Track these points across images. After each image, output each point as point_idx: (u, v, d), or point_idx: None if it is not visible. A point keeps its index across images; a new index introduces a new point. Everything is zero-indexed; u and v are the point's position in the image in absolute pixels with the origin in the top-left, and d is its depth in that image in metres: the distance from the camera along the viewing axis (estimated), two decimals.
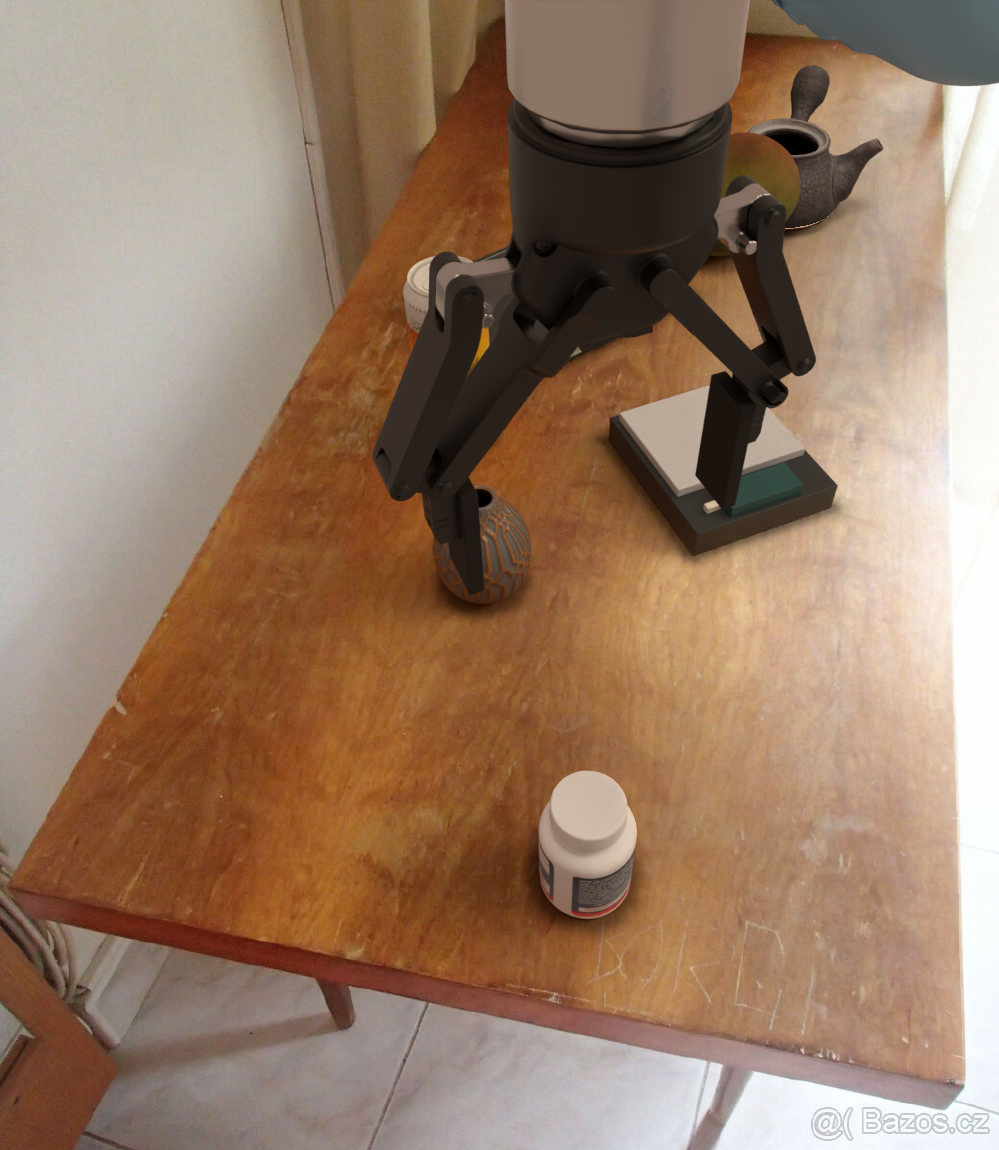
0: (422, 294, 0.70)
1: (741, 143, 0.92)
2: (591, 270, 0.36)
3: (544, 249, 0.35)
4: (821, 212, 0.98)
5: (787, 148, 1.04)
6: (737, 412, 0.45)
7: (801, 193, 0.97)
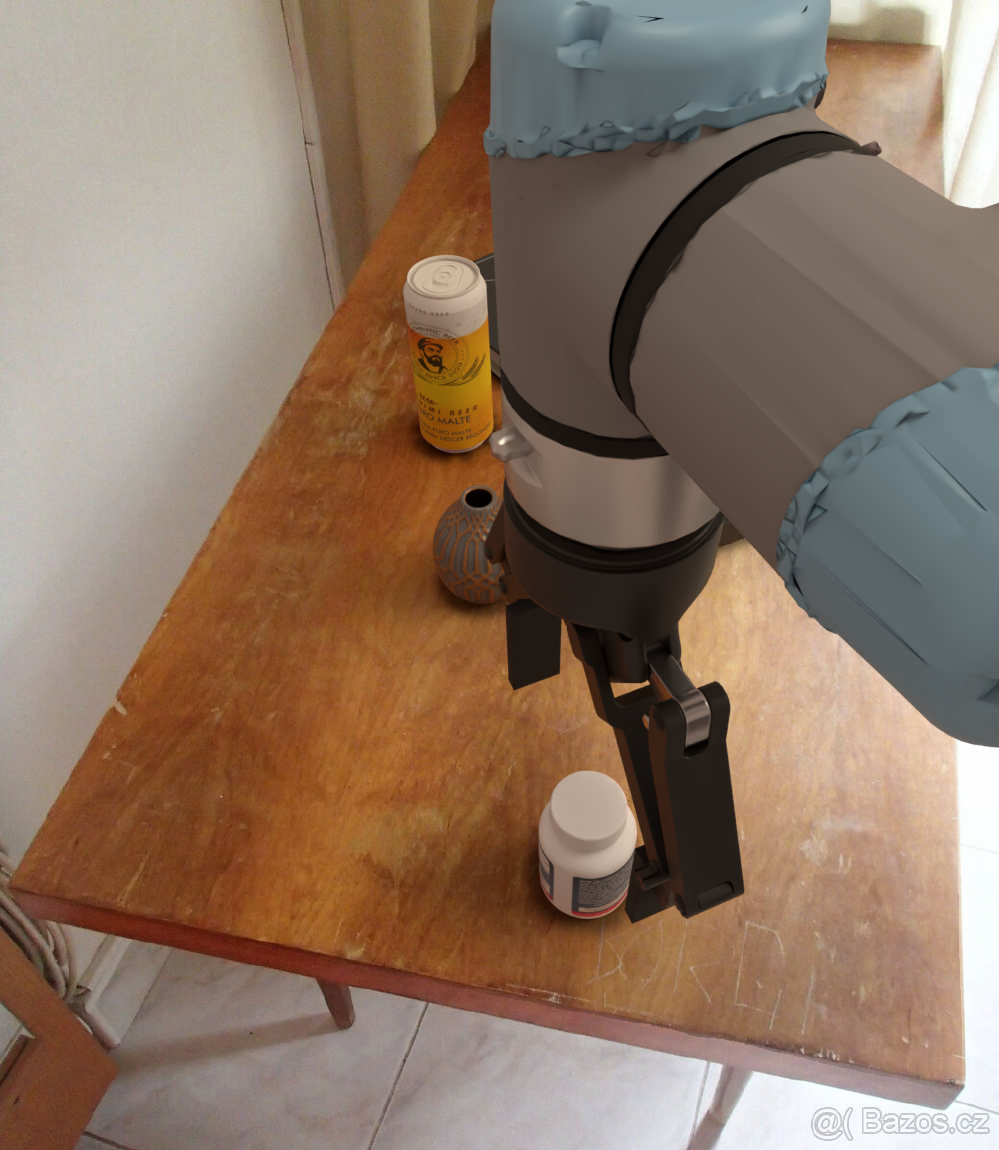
0: (422, 294, 0.70)
1: None
2: None
3: None
4: None
5: None
6: None
7: None
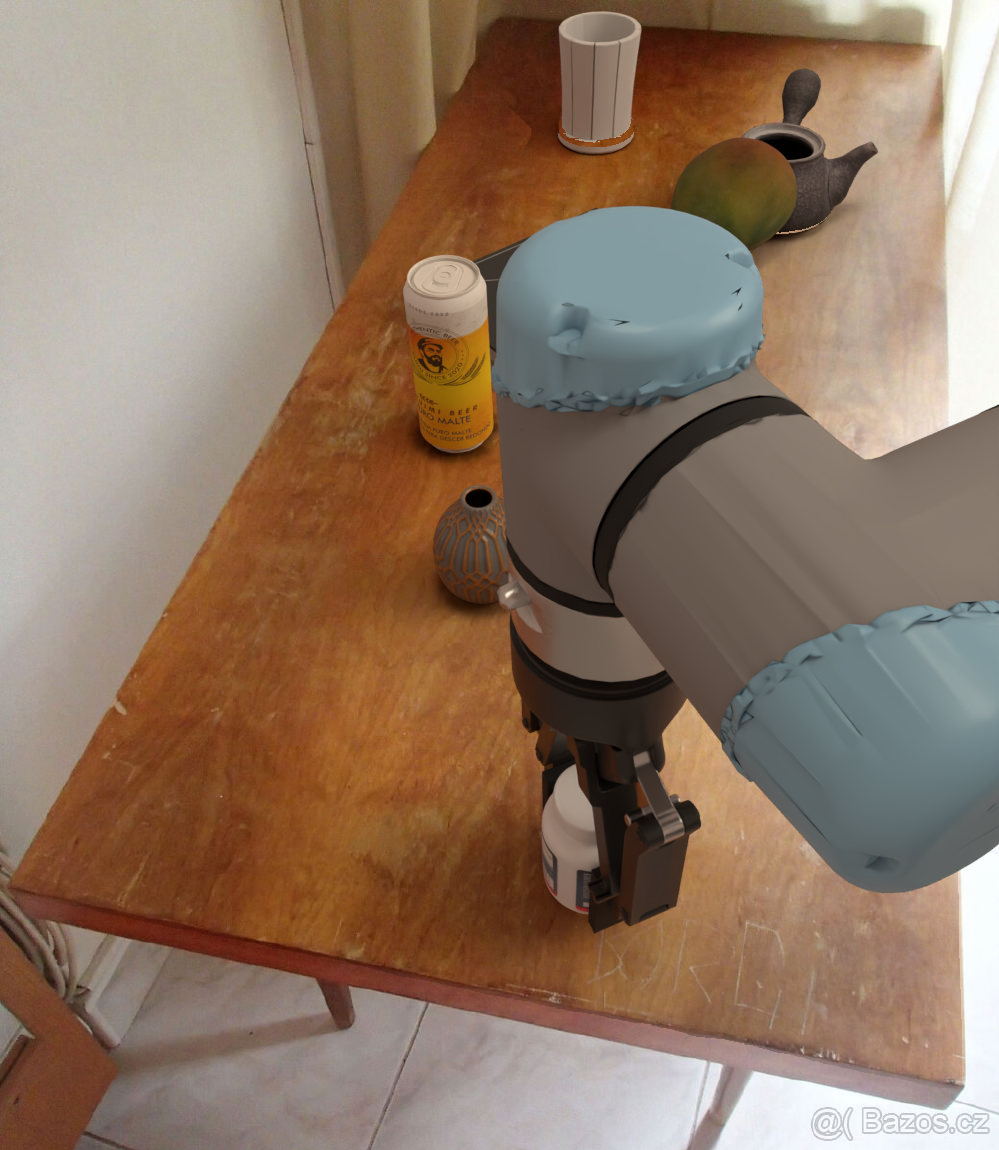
0: (422, 294, 0.70)
1: (738, 148, 0.92)
2: None
3: None
4: (817, 216, 0.98)
5: (780, 152, 1.03)
6: None
7: (797, 198, 0.96)
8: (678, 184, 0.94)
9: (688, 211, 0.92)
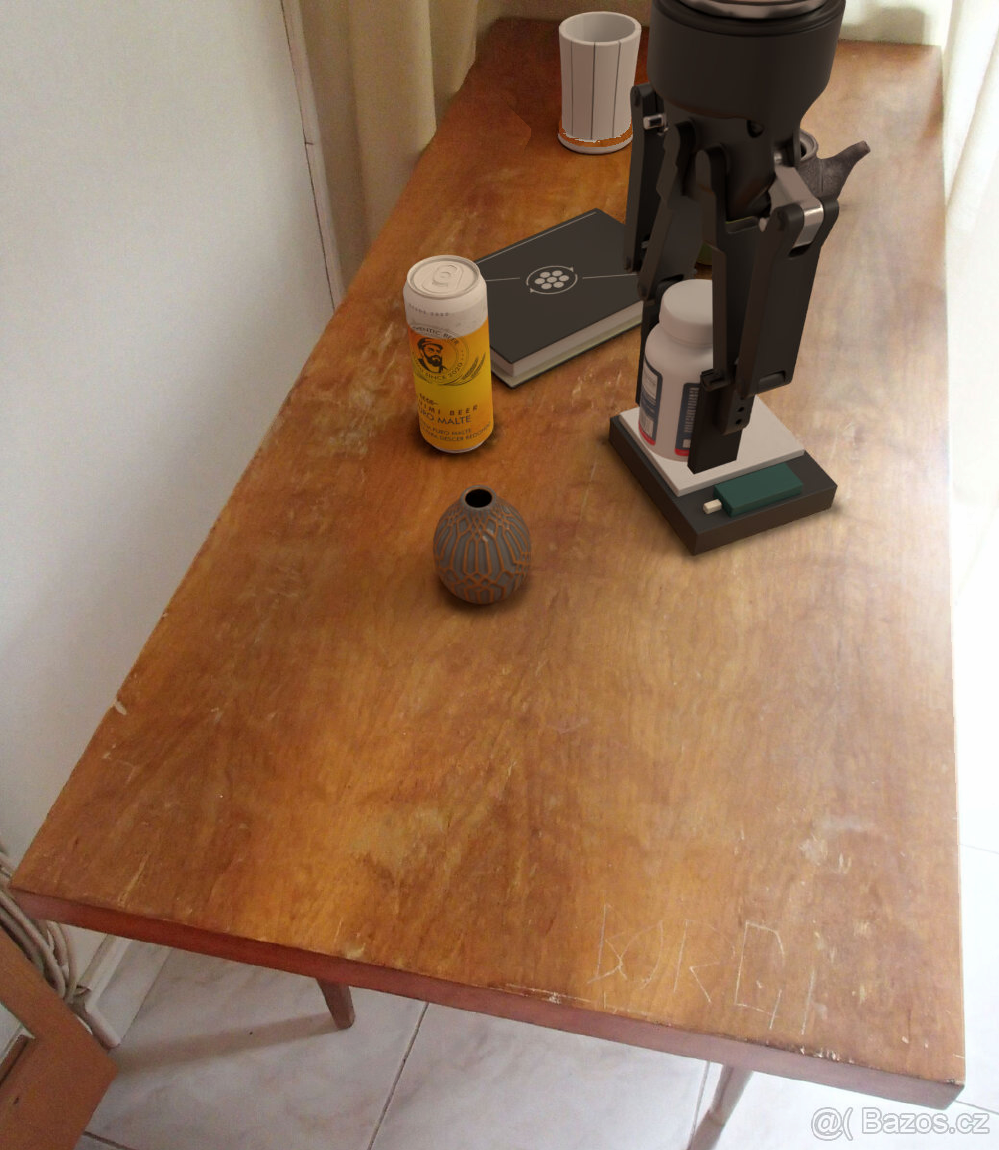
0: (422, 294, 0.70)
1: None
2: None
3: None
4: None
5: None
6: None
7: None
8: None
9: None
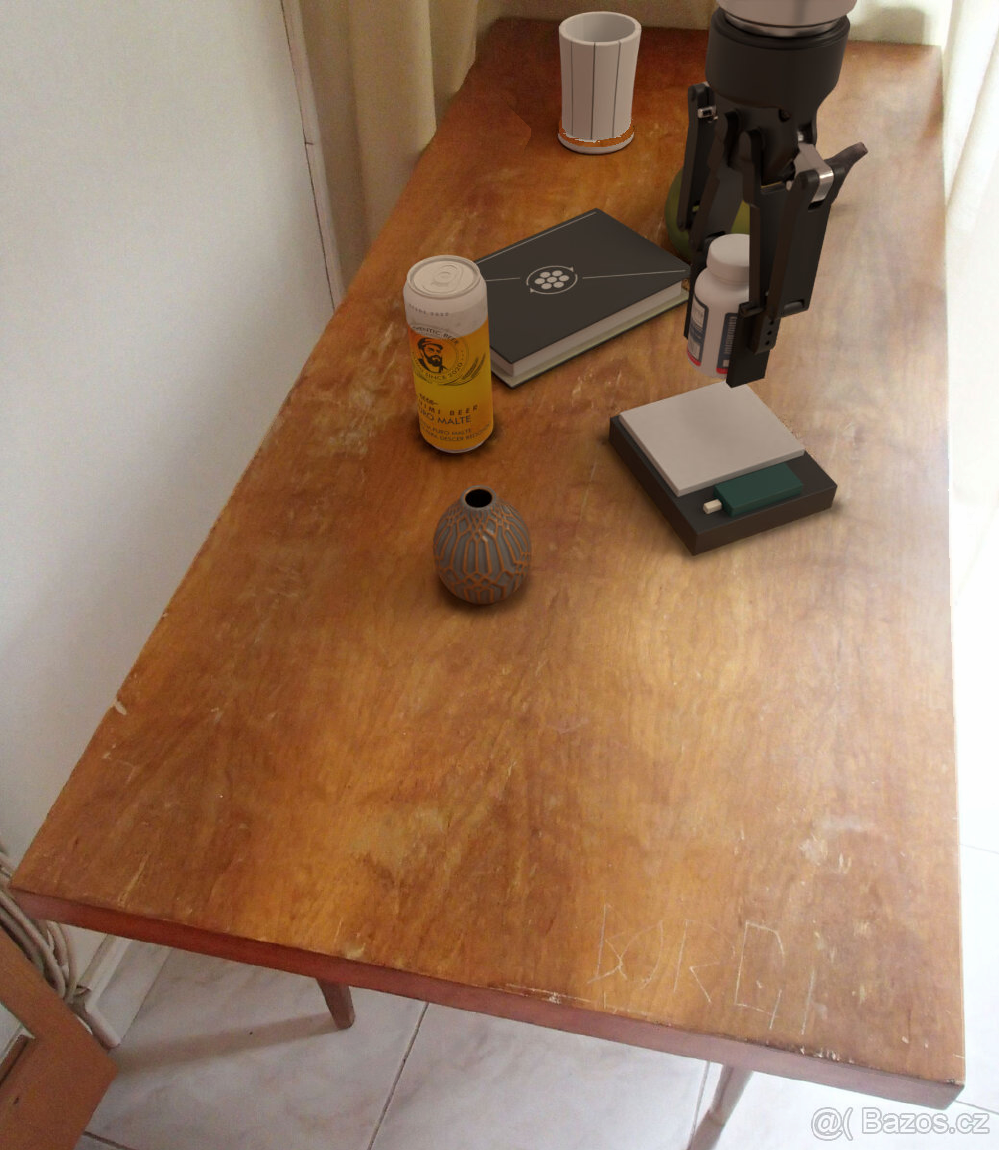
0: (422, 294, 0.70)
1: None
2: None
3: None
4: None
5: None
6: None
7: None
8: (671, 190, 0.94)
9: None
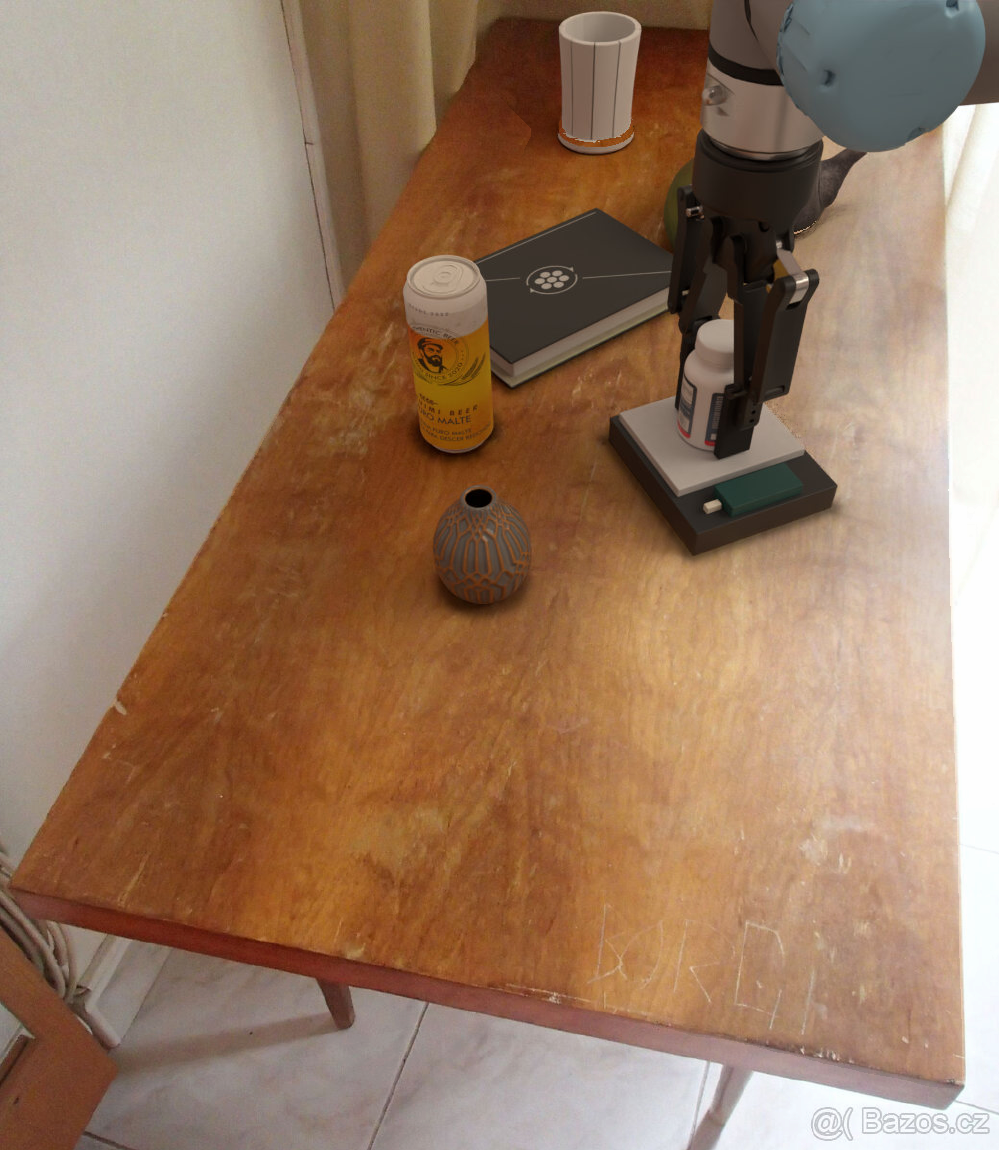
0: (422, 294, 0.70)
1: None
2: None
3: None
4: (809, 219, 0.98)
5: None
6: None
7: None
8: (670, 191, 0.94)
9: None
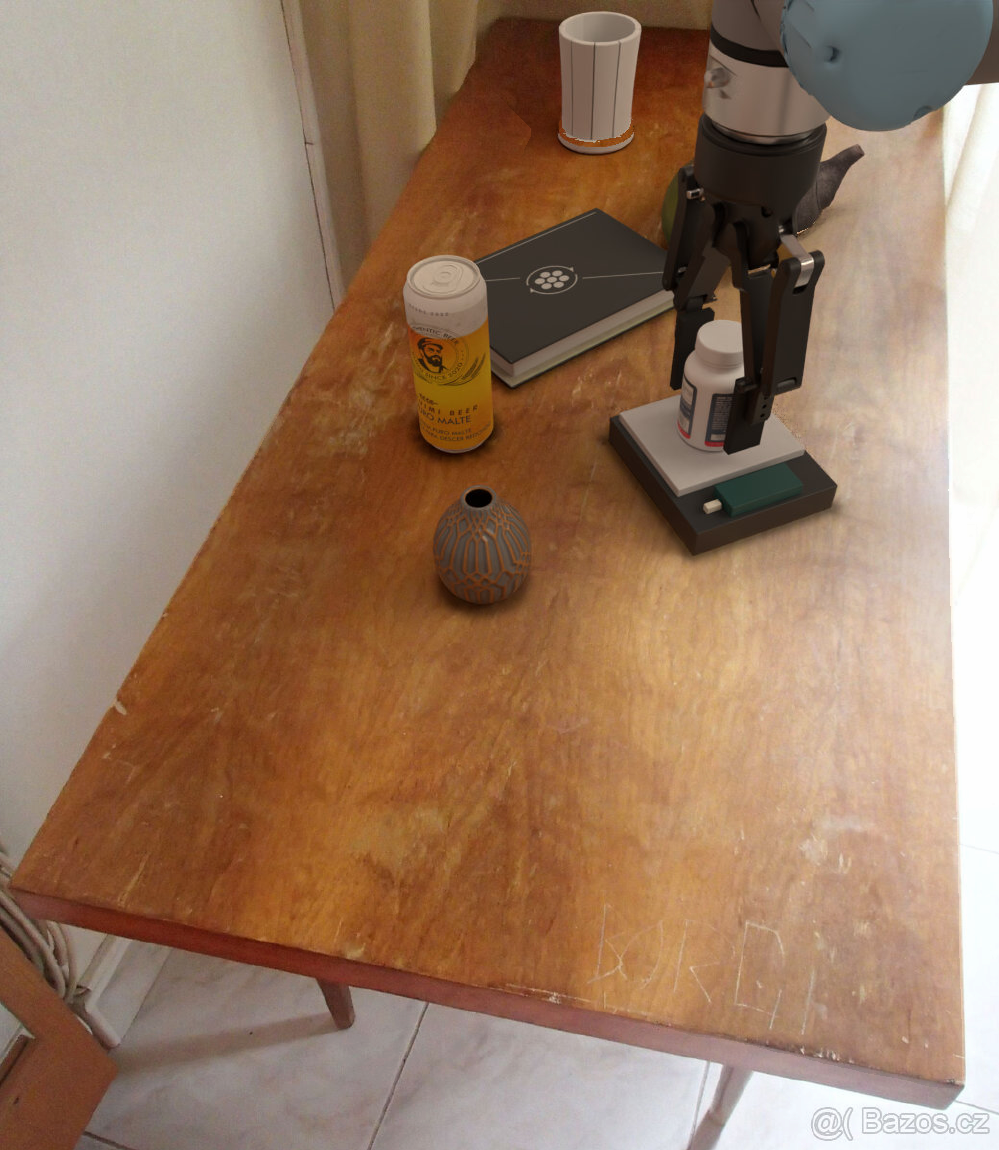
0: (422, 294, 0.70)
1: None
2: None
3: None
4: (807, 220, 0.98)
5: None
6: (710, 317, 0.74)
7: None
8: (668, 193, 0.93)
9: None
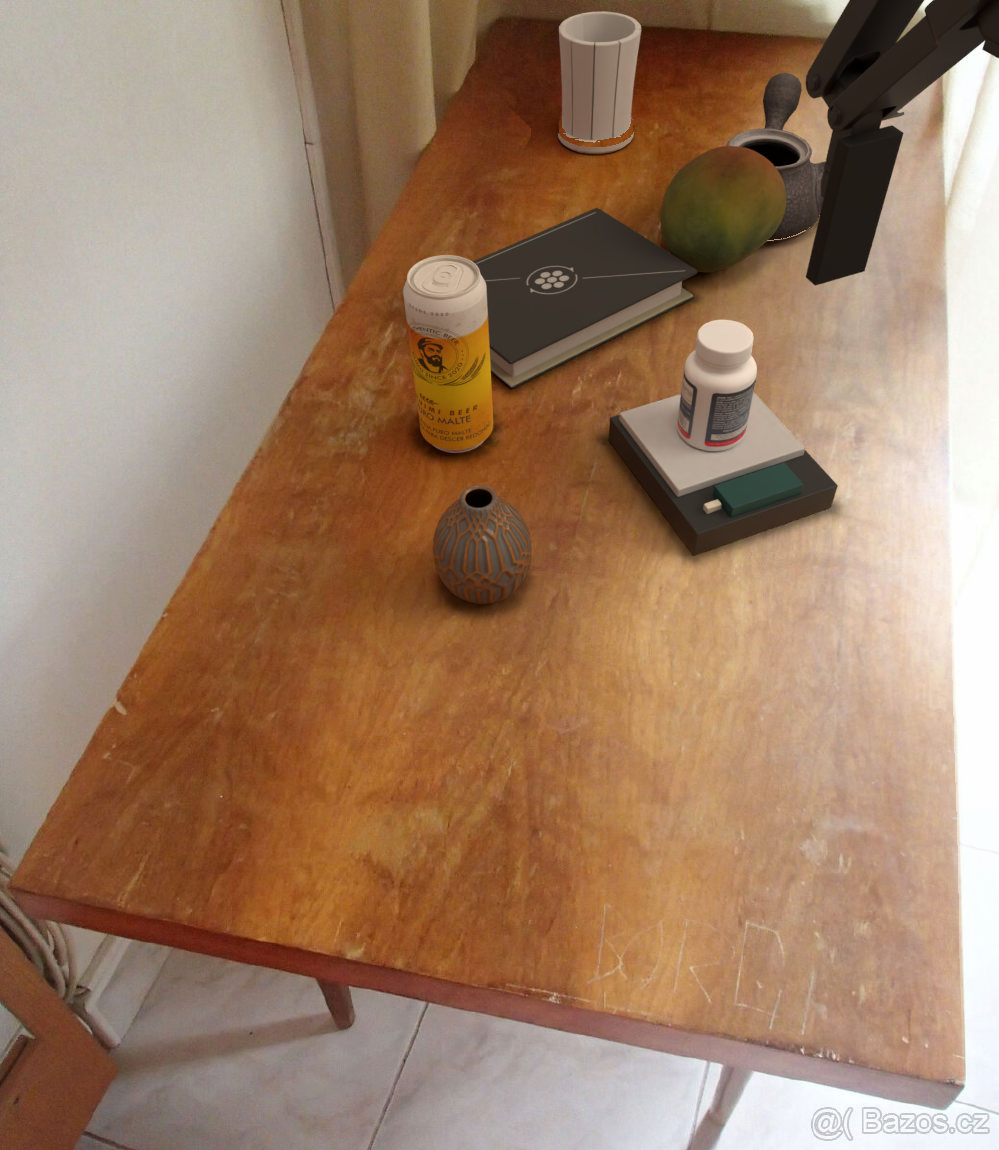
0: (422, 294, 0.70)
1: (727, 157, 0.91)
2: None
3: None
4: (806, 222, 0.97)
5: None
6: (895, 144, 0.41)
7: (786, 204, 0.96)
8: (667, 195, 0.93)
9: (680, 223, 0.91)
